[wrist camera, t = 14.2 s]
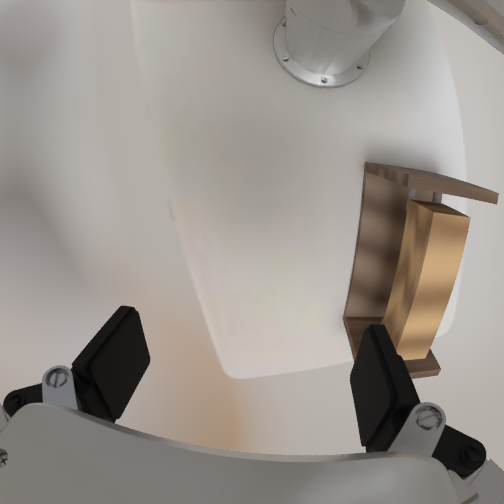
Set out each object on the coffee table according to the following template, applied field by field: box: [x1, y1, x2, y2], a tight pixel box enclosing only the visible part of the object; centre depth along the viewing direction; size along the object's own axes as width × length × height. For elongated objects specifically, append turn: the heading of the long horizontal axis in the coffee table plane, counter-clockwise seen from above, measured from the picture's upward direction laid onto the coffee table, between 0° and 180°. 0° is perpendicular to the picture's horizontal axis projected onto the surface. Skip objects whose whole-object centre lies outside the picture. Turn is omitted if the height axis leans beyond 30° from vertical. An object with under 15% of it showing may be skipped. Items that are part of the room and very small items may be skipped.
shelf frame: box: [343, 162, 498, 379], centre depth 31 cm, size 24×12×14 cm, turn 179°
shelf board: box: [382, 199, 470, 360], centre depth 27 cm, size 18×5×6 cm, turn 179°
